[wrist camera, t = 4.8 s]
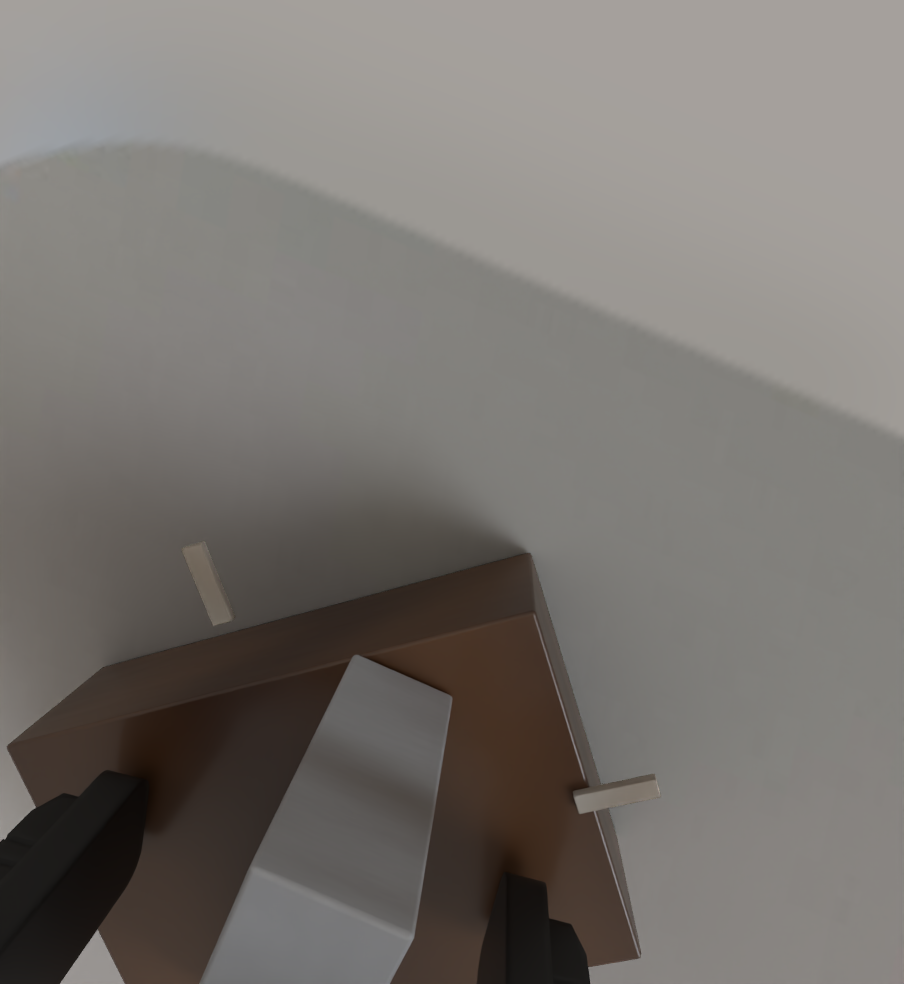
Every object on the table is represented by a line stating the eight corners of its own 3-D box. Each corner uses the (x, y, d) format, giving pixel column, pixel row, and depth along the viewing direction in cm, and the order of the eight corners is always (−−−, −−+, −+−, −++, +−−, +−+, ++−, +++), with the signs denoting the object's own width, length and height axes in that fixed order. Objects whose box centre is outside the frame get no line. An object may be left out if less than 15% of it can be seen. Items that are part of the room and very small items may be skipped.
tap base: (548, 412, 13) (559, 437, 10) (693, 922, 15) (738, 1070, 12) (10, 574, 15) (-121, 638, 12) (215, 1007, 17) (150, 1154, 14)
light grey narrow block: (354, 652, 11) (239, 886, 6) (454, 695, 11) (412, 960, 6) (207, 990, 13) (35, 1361, 8) (291, 1026, 13) (168, 1415, 8)
